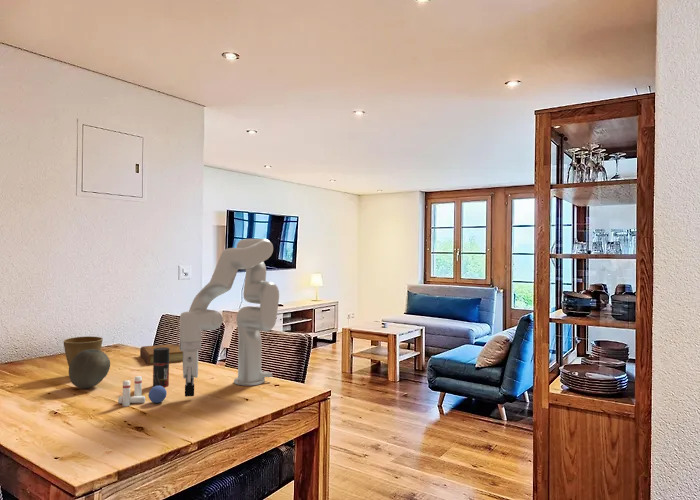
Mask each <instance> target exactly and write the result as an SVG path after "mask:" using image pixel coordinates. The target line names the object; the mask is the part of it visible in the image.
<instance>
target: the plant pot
mask: <svg viewBox="0 0 700 500" xmlns="http://www.w3.org/2000/svg"><path fill="white" fill-rule="evenodd" d="M103 340H104V339H103V337H101V336H75V337H69V338H66V339H63V348H64V353H65V359H66V362H67V365H68V367H69V366H70V364H71V361H72V360H73V358H74V357H75V356H76V355H77V354H78V353H79V352H81V351H84V350H87V349H96V350H100V351H102V345H103Z"/></svg>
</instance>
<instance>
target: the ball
mask: <svg viewBox="0 0 700 500" xmlns="http://www.w3.org/2000/svg"><path fill="white" fill-rule="evenodd" d="M167 395H168V394H167V390H166V387H162V386H154V387H153V386H152V388H150V390H149V392H148V399H149V401H150V402H152V403H153V404H159V403H162V402H163V401H165V399H166V397H167Z"/></svg>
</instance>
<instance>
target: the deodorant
mask: <svg viewBox="0 0 700 500" xmlns="http://www.w3.org/2000/svg"><path fill="white" fill-rule="evenodd" d="M152 366H153V367H152V369H153V370H152V374H153V375H152V388H153V387H154V386H162V387H164V388H167V387H169V385H170V383H169V381H170V380H169V379H170V363H169V348H166V347H161V348H155V349H154V352H153V365H152Z"/></svg>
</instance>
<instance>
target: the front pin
mask: <svg viewBox="0 0 700 500" xmlns="http://www.w3.org/2000/svg"><path fill="white" fill-rule="evenodd" d="M118 396H119V395H118ZM145 402H146V396H145V395H142V396H134V395H130V404H144V403H145ZM117 403H118V404H122V403H123V395H122V396H121V395H120V396H119V397H118V398H117Z"/></svg>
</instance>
